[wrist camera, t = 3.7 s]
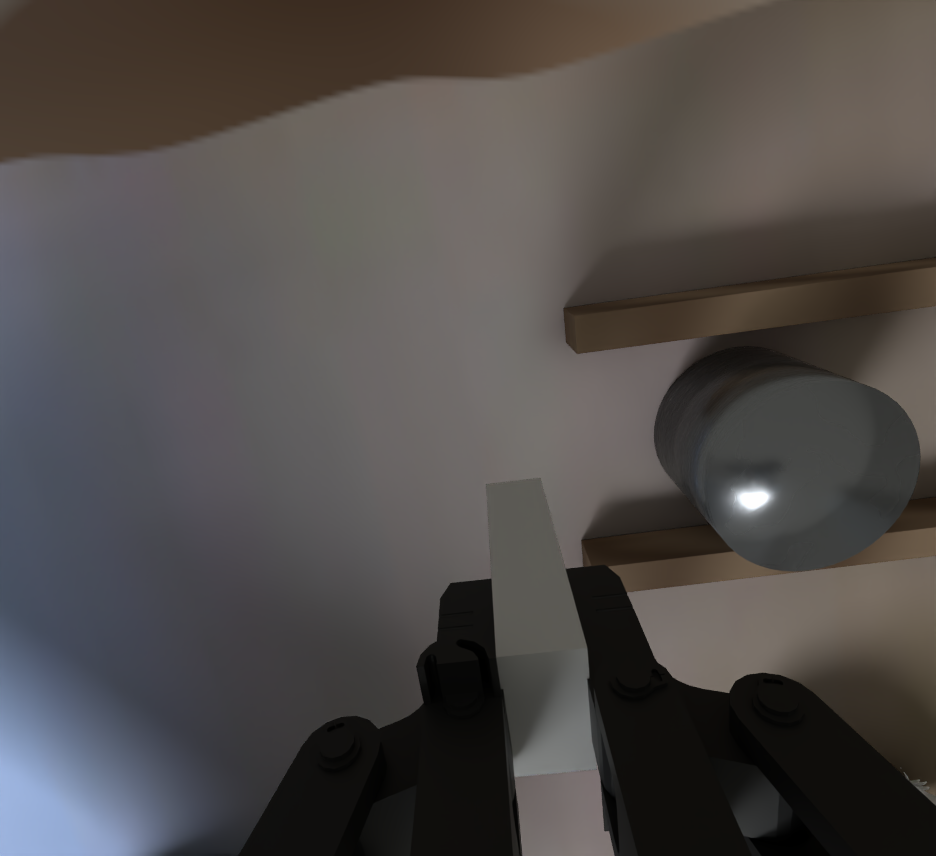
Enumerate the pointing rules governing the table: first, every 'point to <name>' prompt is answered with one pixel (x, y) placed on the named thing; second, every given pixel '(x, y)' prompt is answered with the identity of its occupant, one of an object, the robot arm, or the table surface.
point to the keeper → (786, 456)
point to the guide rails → (730, 311)
